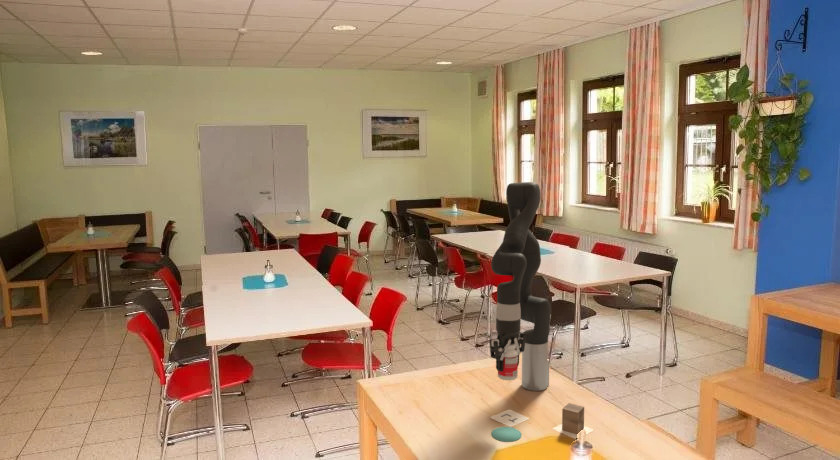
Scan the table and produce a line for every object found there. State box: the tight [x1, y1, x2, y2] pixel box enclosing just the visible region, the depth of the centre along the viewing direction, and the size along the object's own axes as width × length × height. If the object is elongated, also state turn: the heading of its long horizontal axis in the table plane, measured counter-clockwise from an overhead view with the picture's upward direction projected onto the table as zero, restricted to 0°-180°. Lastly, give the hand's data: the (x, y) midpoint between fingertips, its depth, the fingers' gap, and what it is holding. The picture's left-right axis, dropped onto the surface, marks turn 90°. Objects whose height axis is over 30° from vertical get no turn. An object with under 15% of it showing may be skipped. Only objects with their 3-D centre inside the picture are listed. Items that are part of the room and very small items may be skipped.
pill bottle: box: [497, 344, 519, 381], centre depth 186 cm, size 6×6×11 cm
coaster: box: [491, 426, 522, 443], centre depth 181 cm, size 9×9×1 cm
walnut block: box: [561, 402, 585, 434], centre depth 183 cm, size 5×5×7 cm
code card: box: [489, 409, 530, 428], centre depth 192 cm, size 9×9×1 cm
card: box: [552, 423, 594, 440], centre depth 184 cm, size 9×9×1 cm
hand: (507, 368), depth 186 cm, fingers closed on pill bottle, 6 cm apart
